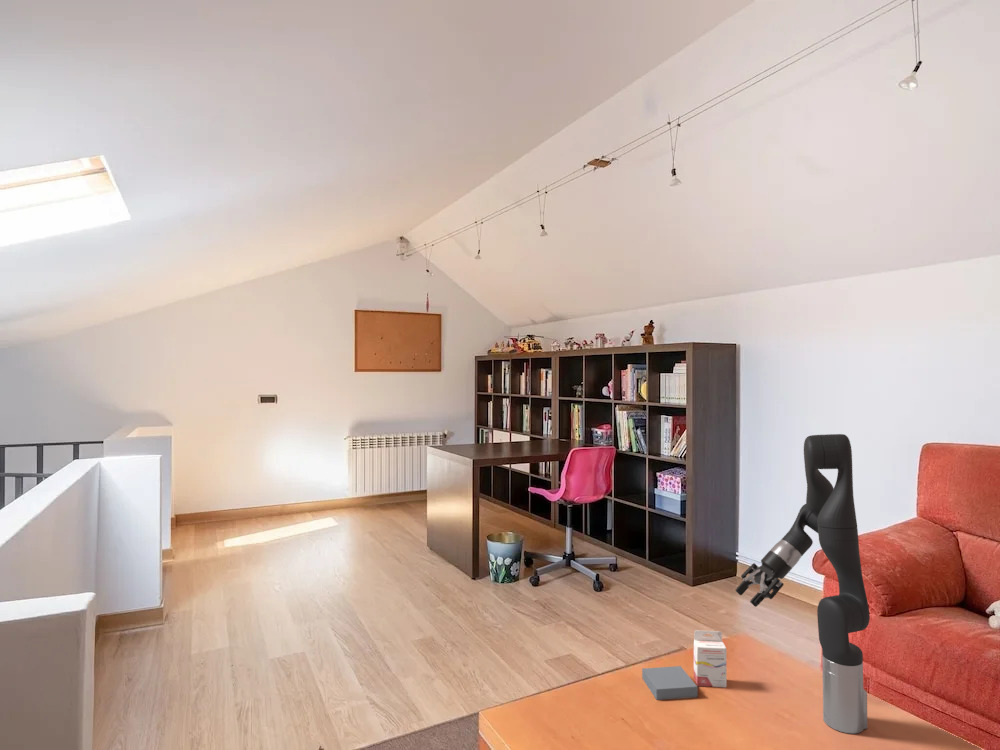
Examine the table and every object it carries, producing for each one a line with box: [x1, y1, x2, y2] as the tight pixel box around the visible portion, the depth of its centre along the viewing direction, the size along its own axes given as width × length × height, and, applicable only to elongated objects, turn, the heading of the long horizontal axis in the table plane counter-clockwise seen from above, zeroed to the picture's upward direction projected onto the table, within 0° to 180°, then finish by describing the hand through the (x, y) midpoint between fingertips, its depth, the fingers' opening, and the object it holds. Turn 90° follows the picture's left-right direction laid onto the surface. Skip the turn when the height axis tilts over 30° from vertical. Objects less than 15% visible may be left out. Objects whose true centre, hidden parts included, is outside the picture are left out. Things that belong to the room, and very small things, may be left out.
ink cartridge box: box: [693, 629, 727, 688], centre depth 178 cm, size 9×5×15 cm, turn 84°
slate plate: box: [641, 665, 699, 701], centre depth 176 cm, size 12×12×3 cm
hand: (745, 598), depth 179 cm, fingers open, 8 cm apart
